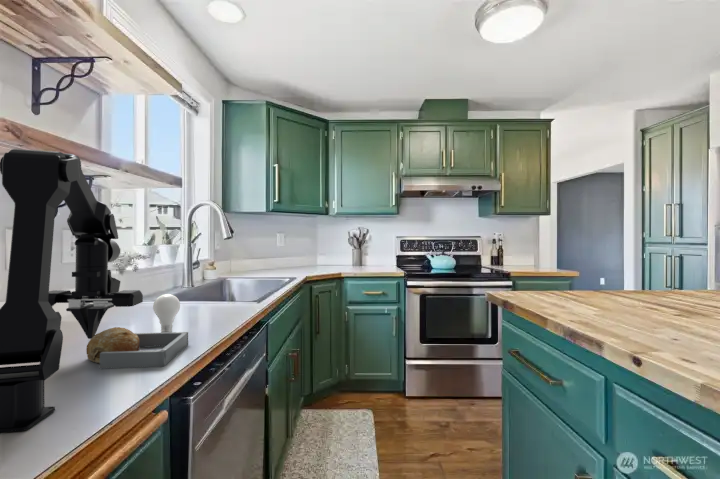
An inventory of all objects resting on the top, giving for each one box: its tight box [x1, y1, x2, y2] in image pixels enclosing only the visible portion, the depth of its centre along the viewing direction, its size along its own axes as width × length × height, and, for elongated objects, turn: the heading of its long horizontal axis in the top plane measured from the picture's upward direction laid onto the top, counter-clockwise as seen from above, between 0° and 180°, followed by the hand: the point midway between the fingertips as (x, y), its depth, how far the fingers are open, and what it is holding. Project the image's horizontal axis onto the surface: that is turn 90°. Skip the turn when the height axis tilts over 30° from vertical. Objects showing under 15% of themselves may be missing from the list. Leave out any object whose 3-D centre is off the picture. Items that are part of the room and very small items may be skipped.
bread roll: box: [85, 326, 140, 364], centre depth 84 cm, size 10×10×8 cm
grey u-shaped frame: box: [99, 331, 189, 369], centre depth 85 cm, size 16×12×3 cm
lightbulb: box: [152, 293, 181, 333], centre depth 101 cm, size 6×6×11 cm
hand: (91, 338), depth 83 cm, fingers closed
